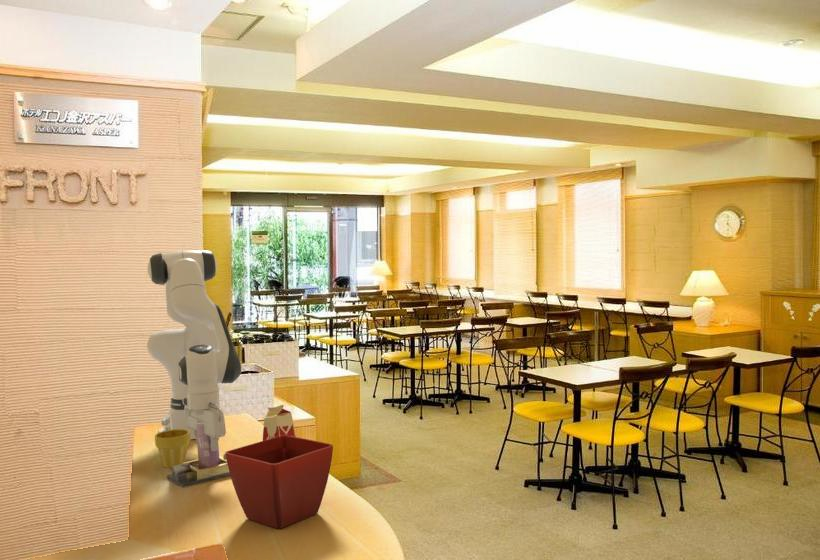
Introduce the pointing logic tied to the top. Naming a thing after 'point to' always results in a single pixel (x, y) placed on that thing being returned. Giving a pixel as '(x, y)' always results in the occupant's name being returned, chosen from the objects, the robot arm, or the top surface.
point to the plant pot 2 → (280, 478)
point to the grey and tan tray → (197, 472)
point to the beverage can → (205, 449)
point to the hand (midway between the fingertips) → (206, 447)
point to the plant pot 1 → (172, 446)
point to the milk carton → (278, 423)
